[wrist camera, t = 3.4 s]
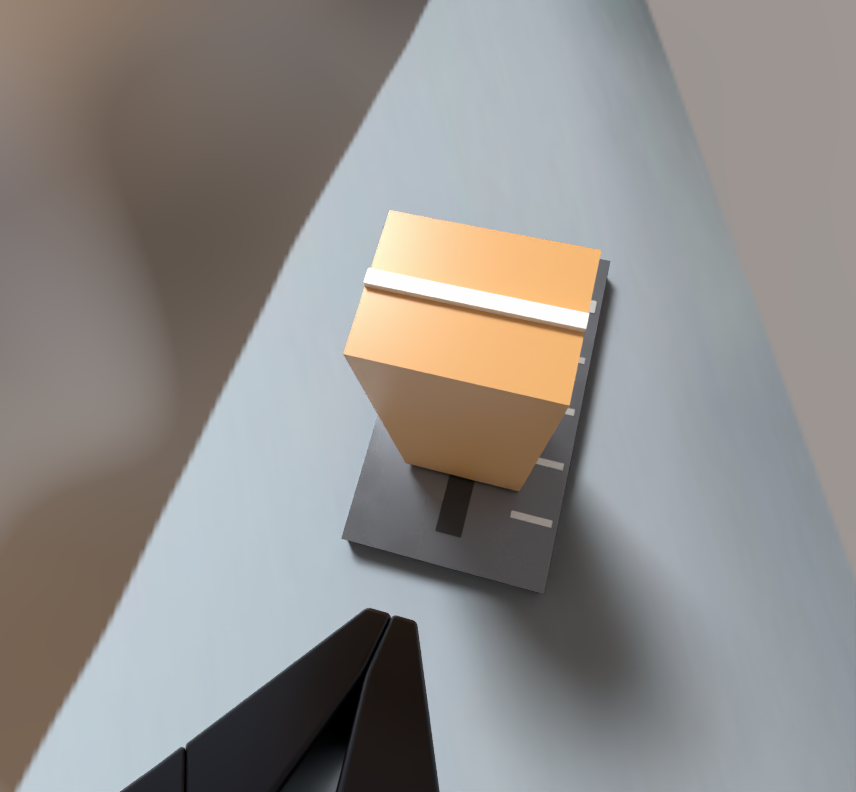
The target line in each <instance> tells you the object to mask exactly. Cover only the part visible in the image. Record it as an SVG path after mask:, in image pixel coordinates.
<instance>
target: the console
mask: <svg viewBox="0 0 856 792" xmlns="http://www.w3.org/2000/svg"><path fill="white" fill-rule="evenodd" d="M609 265H610V261H607V260H602V259H599V264H598V269H597V274H596V279H595V284H594V289H593V293H592V298H591V303H590V308H589V318H588V323H587V328H586V330H585V333H584V337H583V342H582V347H581V352H580V357H579V362H578V367H577V372H576V377H575V381H574V386H573V391H572V396H571V401H570V406H569V407H568V409H567V411H566V413H565V414H564V416H563V418H562V419H561V421H560V423H559V425H558V426H557V428H556V430H555V431H554V433H553V435H552V437H551V438H550V440H549V442H548V443H547V445H546V447H545V449H544V450H543V452H542V454H541V455H540V457H539V459H538V461H537V462H536V464H535V466H534V467H533V469H532V471H531V473H530V474H529V476H528V478H527V479H526V481H525V483H524V485H523V486H522V488H521V490H520V491H515V490H511V489H507V488H503V487H499V486H495V485H491V484H487V483H483V482H479V481H475V480H471V479H467V478H463V477H459V476H455V475H451V474H447V473H443V472H439V471H435V470H431V469H427V468H423V467H419V466H415V465H411V464H407V463H405V461H404V459H403V458H402V456H401V454H400V452H399V451H398V449H397V447H396V445H395V444H394V442H393V440H392V438H391V437H390V435H389V433H388V431H387V430H386V428H385V426H384V424H383V423H382V421H381V419H380V417H379V416H378V417H377V420H376V424H375V427H374V430H373V434H372V437H371V440H370V444H369V447H368V451H367V454H366V457H365V461H364V464H363V467H362V471H361V474H360V478H359V481H358V484H357V488H356V491H355V494H354V498H353V501H352V505H351V508H350V511H349V515H348V518H347V521H346V525H345V528H344V532H343V535H342V538H341V539H345V540H348V541H352V542H355V543H359V544H363V545H366V546H370V547H374V548H377V549H381V550H385V551H388V552H392V553H396V554H399V555H403V556H407V557H410V558H414V559H418V560H421V561H425V562H428V563H432V564H436V565H439V566H443V567H447V568H450V569H454V570H458V571H461V572H465V573H469V574H472V575H476V576H480V577H483V578H487V579H491V580H494V581H498V582H501V583H505V584H509V585H512V586H516V587H520V588H523V589H527V590H531V591H534V592H538V593H542V594H544V593H545V587H546V582H547V577H548V572H549V567H550V562H551V557H552V552H553V547H554V542H555V537H556V532H557V527H558V522H559V517H560V512H561V507H562V502H563V497H564V492H565V487H566V482H567V477H568V472H569V467H570V462H571V457H572V451H573V446H574V441H575V436H576V431H577V426H578V421H579V416H580V411H581V406H582V401H583V396H584V391H585V386H586V381H587V376H588V371H589V366H590V361H591V356H592V351H593V346H594V341H595V336H596V331H597V326H598V321H599V315H600V310H601V305H602V300H603V295H604V290H605V285H606V280H607V275H608V270H609Z"/></svg>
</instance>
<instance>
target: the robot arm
mask: <svg viewBox="0 0 856 792" xmlns="http://www.w3.org/2000/svg"><path fill="white" fill-rule="evenodd" d="M120 792H439V785H438V777H437V770H436V762H435V755H434V747H433V740H432V732H431V724H430V717H429V709H428V702H427V694H426V687H425V679H424V672H423V664H422V657H421V649H420V642H419V634H418V627H417V623H416V622H415V621H413V620H410V619H406V618H403V617H400V616H393V617H392V618H391V617H390V615H389V614H388V613H386V612H382V611H379V610H375V609H372V608H366V609H365V610H363V611H362V612H360V613H359V614H358V615H356V616H355V617H354V618H353V619H351V620H350V621H349V622H347V623H346V624H345V625H343V626H342V627H341V628H339V629H338V630H337V631H335V632H334V633H333V634H331V635H330V636H329V637H327V638H326V639H325V640H323V641H322V642H321V643H319V644H318V645H317V646H315V647H314V648H313V649H311V650H310V651H309V652H307V653H306V654H305V655H303V656H302V657H301V658H300V659H298V660H297V661H296V662H294V663H293V664H292V665H290V666H289V667H288V668H286V669H285V670H284V671H282V672H281V673H280V674H278V675H277V676H276V677H274V678H273V679H272V680H270V681H269V682H268V683H266V684H265V685H264V686H262V687H261V688H260V689H258V690H257V691H256V692H254V693H253V694H252V695H250V696H249V697H248V698H247V699H245V700H244V701H243V702H241V703H240V704H239V705H237V706H236V707H235V708H233V709H232V710H231V711H229V712H228V713H227V714H225V715H224V716H223V717H221V718H220V719H219V720H217V721H216V722H215V723H213V724H212V725H211V726H209V727H208V728H207V729H205V730H204V731H203V732H201V733H200V734H199V735H197V736H196V737H195V738H194V739H192V740H191V741H190V742H188V743H187V744H186V751H185V748H184V747H180V748H179V749H178V750H176V751H175V752H174V753H172V754H171V755H170V756H168V757H167V758H166V759H164V760H163V761H162V762H160V763H159V764H158V765H157V766H155V767H154V768H152V769H151V770H150V771H148V772H147V773H145V774H144V775H143V776H141V777H140V778H138V779H137V780H136V781H134V782H133V783H131V784H130V785H129V786H127V787H126V788H124V789H123V790H122V791H120Z"/></svg>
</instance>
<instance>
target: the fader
mask: <svg viewBox="0 0 856 792" xmlns="http://www.w3.org/2000/svg"><path fill="white" fill-rule="evenodd" d="M600 254H601V250H597V249H592V248H586V247H581V246H576V245H571V244H565V243H560V242H555V241H550V240H544V239H539V238H534V237H528V236H523V235H518V234H513V233H507V232H502V231H497V230H492V229H486V228H481V227H476V226H470V225H465V224H460V223H455V222H449V221H444V220H439V219H434V218H428V217H423V216H418V215H413V214H407V213H402V212H397V211H391V210H389V214H388V217H387V220H386V223H385V226H384V229H383V232H382V235H381V238H380V241H379V245H378V248H377V251H376V254H375V257H374V260H373V263H372V266H371V268H368V270H367V273H366V276H365V279H364V282H363V283H364V285H365V288H364V291H363V294H362V297H361V300H360V303H359V307H358V310H357V313H356V316H355V319H354V322H353V325H352V328H351V331H350V334H349V338H348V341H347V344H346V347H345V350H344V353H343V354H344V356H345V358H346V360H347V361H348V363H349V365H350V367H351V368H352V370H353V372H354V374H355V375H356V377H357V379H358V381H359V382H360V384H361V386H362V388H363V389H364V391H365V393H366V395H367V396H368V398H369V400H370V402H371V403H372V405H373V407H374V409H375V410H376V412H377V414H378V416H379V417H380V419H381V421H382V423H383V424H384V426H385V428H386V430H387V431H388V433H389V435H390V437H391V438H392V440H393V442H394V444H395V445H396V447H397V449H398V451H399V452H400V454H401V456H402V458H403V459H404V461H405V463H407V464H411V465H415V466H419V467H423V468H427V469H431V470H435V471H439V472H443V473H447V474H451V475H455V476H459V477H463V478H467V479H471V480H475V481H479V482H483V483H487V484H491V485H495V486H499V487H503V488H507V489H511V490H515V491H520V490H521V488H522V486H523V485H524V483H525V481H526V479H527V478H528V476H529V474H530V473H531V471H532V469H533V467H534V466H535V464H536V462H537V461H538V459H539V457H540V455H541V454H542V452H543V450H544V449H545V447H546V445H547V443H548V442H549V440H550V438H551V437H552V435H553V433H554V431H555V430H556V428H557V426H558V425H559V423H560V421H561V419H562V418H563V416H564V414H565V413H566V411H567V409H568V407H569V406H570V401H571V396H572V391H573V386H574V381H575V377H576V372H577V367H578V362H579V357H580V352H581V347H582V342H583V337H584V333H585V330H586V328H587V323H588V318H589V308H590V303H591V298H592V293H593V289H594V284H595V279H596V274H597V269H598V264H599V259H600Z"/></svg>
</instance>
